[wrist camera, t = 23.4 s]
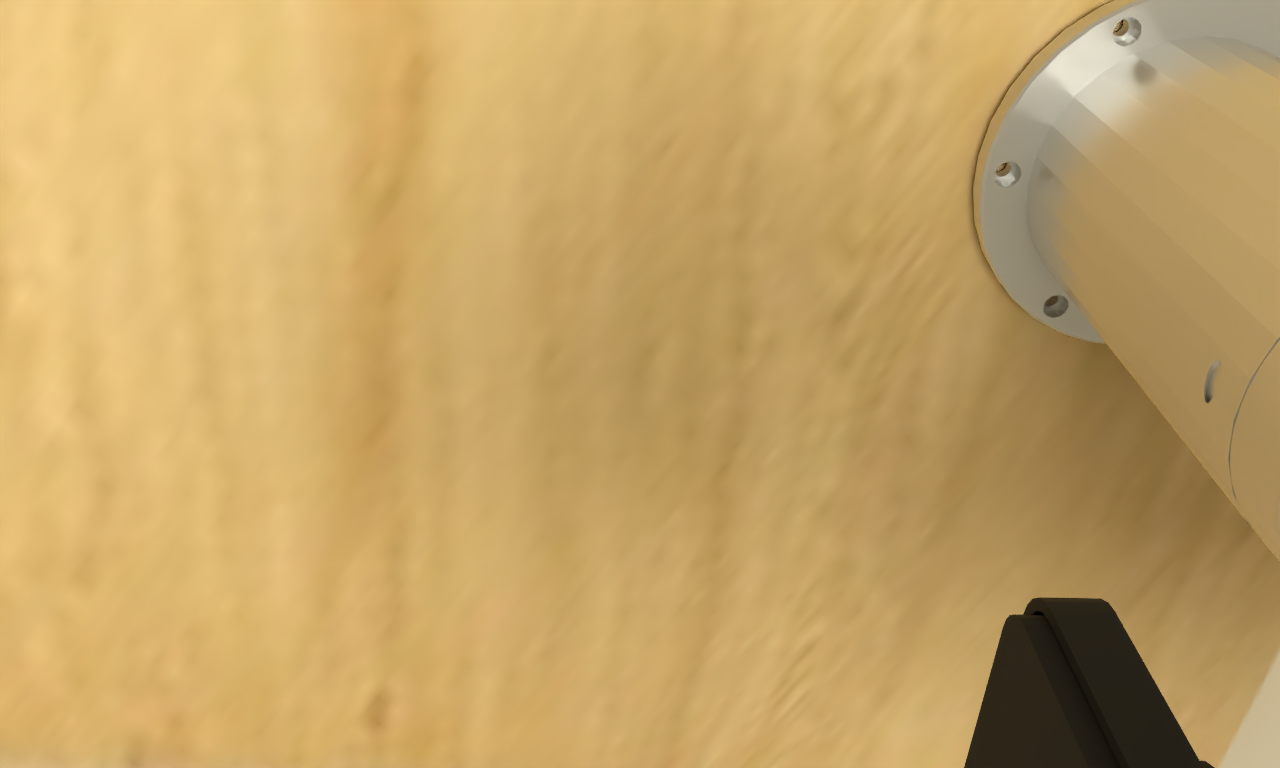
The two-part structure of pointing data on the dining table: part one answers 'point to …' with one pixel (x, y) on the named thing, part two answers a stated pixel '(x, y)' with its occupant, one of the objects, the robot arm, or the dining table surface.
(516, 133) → the dining table surface
